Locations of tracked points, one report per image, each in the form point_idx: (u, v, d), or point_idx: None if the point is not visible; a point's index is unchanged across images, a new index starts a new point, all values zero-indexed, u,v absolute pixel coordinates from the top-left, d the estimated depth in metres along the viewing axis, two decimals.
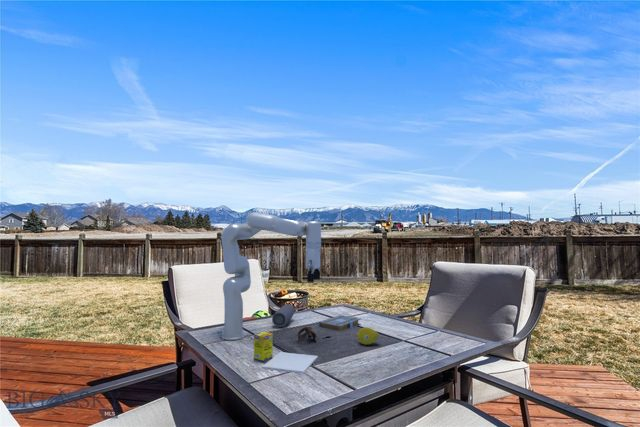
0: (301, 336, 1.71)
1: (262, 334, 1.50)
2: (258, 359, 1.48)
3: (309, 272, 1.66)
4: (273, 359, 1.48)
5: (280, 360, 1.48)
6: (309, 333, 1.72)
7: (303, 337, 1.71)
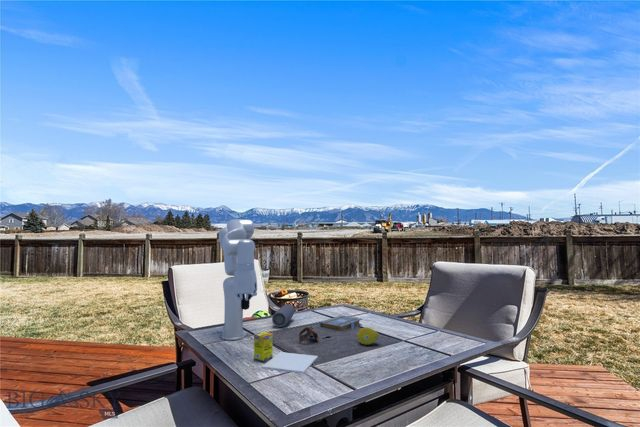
0: (303, 336, 1.71)
1: (262, 334, 1.50)
2: (258, 359, 1.48)
3: (249, 298, 1.54)
4: (273, 359, 1.48)
5: (280, 360, 1.48)
6: (311, 333, 1.71)
7: (305, 337, 1.70)
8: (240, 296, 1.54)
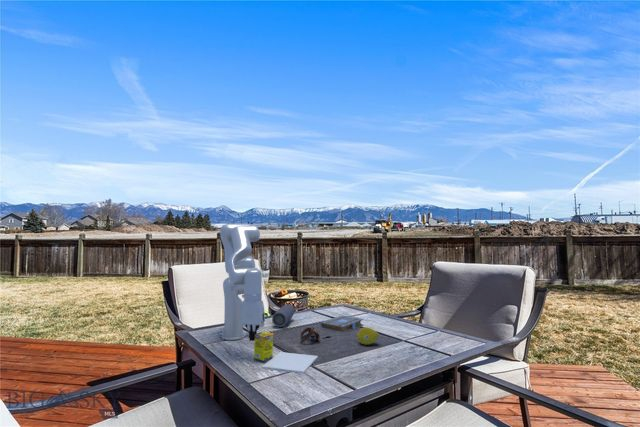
0: (304, 336, 1.70)
1: (263, 334, 1.50)
2: (258, 359, 1.48)
3: (257, 329, 1.52)
4: (273, 359, 1.48)
5: (280, 360, 1.48)
6: (312, 333, 1.71)
7: (306, 337, 1.70)
8: (248, 327, 1.52)
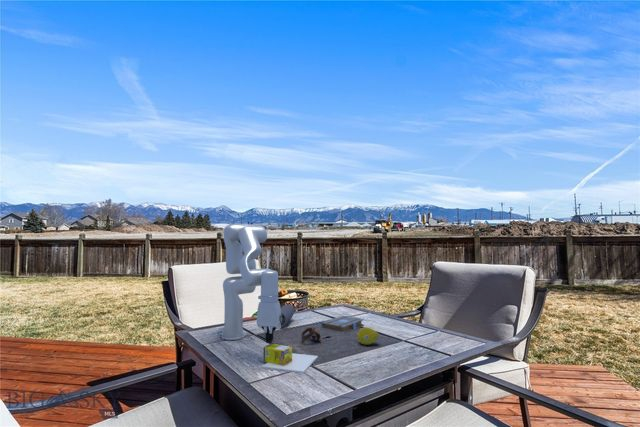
0: (305, 337, 1.70)
1: (287, 357, 1.43)
2: (264, 354, 1.46)
3: (273, 331, 1.50)
4: None
5: None
6: (313, 334, 1.71)
7: (307, 338, 1.70)
8: (264, 329, 1.49)
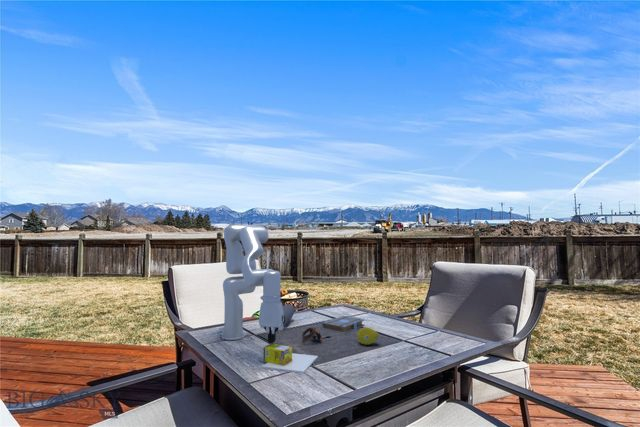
0: (306, 337, 1.70)
1: (287, 357, 1.43)
2: (264, 354, 1.46)
3: (276, 331, 1.49)
4: None
5: None
6: (314, 334, 1.71)
7: (308, 338, 1.70)
8: (267, 329, 1.49)
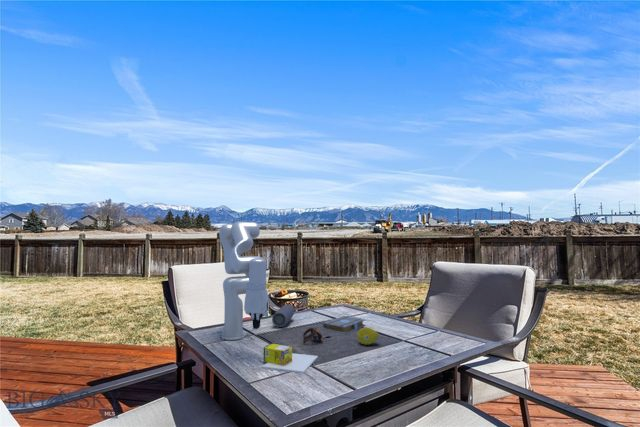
0: (307, 337, 1.70)
1: (287, 357, 1.43)
2: (264, 354, 1.46)
3: (260, 318, 1.52)
4: None
5: None
6: (315, 334, 1.70)
7: (309, 338, 1.69)
8: (252, 315, 1.52)
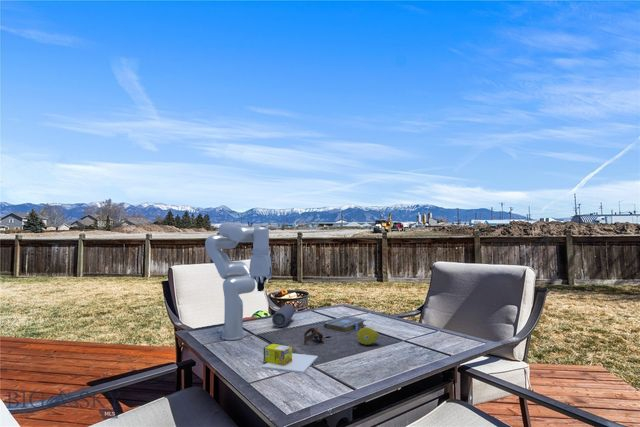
0: (308, 337, 1.70)
1: (287, 357, 1.43)
2: (264, 354, 1.46)
3: (264, 281, 1.66)
4: None
5: None
6: (316, 334, 1.70)
7: (310, 338, 1.69)
8: (256, 279, 1.66)
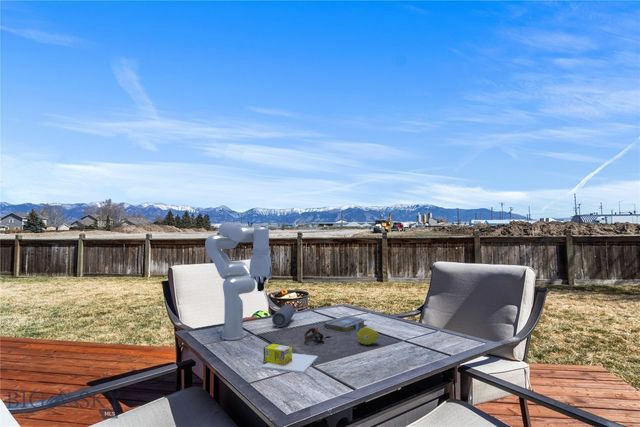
0: (308, 337, 1.69)
1: (287, 357, 1.43)
2: (264, 354, 1.46)
3: (264, 281, 1.66)
4: None
5: None
6: (317, 334, 1.70)
7: (311, 338, 1.69)
8: (256, 279, 1.66)
